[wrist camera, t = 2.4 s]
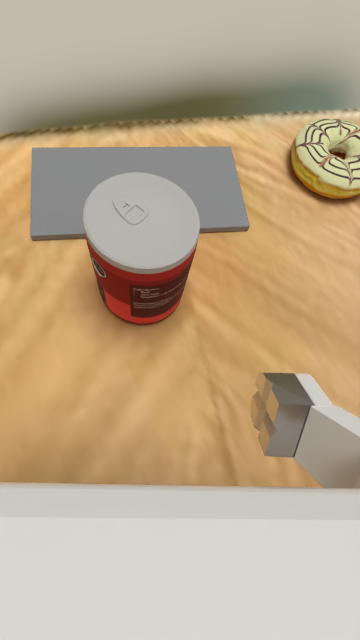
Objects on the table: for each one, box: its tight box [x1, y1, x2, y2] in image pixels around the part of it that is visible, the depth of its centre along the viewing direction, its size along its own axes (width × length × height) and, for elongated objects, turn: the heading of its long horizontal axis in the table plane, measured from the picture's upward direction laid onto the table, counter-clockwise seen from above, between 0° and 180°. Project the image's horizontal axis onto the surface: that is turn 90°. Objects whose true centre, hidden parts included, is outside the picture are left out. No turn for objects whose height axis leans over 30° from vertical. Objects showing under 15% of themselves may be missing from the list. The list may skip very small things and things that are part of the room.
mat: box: [31, 147, 250, 241], centre depth 36 cm, size 11×22×1 cm, turn 98°
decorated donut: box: [291, 119, 360, 199], centre depth 39 cm, size 10×11×4 cm
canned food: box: [83, 172, 200, 324], centre depth 27 cm, size 8×8×11 cm
